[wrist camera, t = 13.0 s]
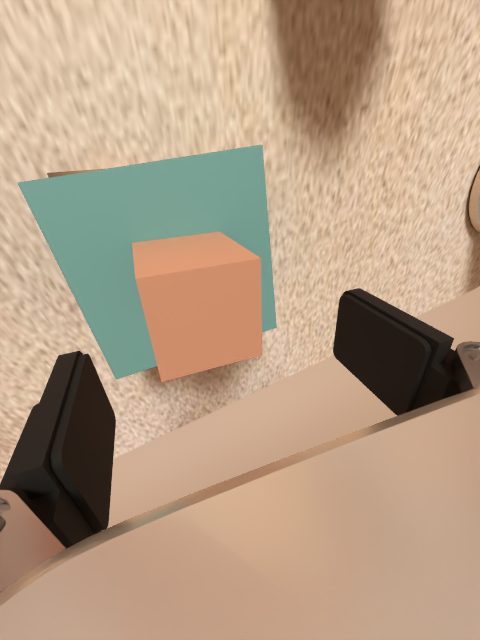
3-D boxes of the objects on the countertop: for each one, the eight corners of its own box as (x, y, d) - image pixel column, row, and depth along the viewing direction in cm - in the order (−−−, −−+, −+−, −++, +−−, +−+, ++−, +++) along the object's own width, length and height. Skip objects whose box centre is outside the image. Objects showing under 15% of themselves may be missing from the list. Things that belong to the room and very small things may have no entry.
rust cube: (219, 231, 16) (260, 258, 11) (226, 306, 19) (261, 355, 14) (132, 242, 15) (135, 278, 10) (151, 321, 17) (161, 381, 12)
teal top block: (237, 149, 18) (262, 144, 15) (256, 306, 24) (276, 327, 21) (40, 179, 16) (17, 182, 12) (117, 347, 22) (116, 379, 18)
